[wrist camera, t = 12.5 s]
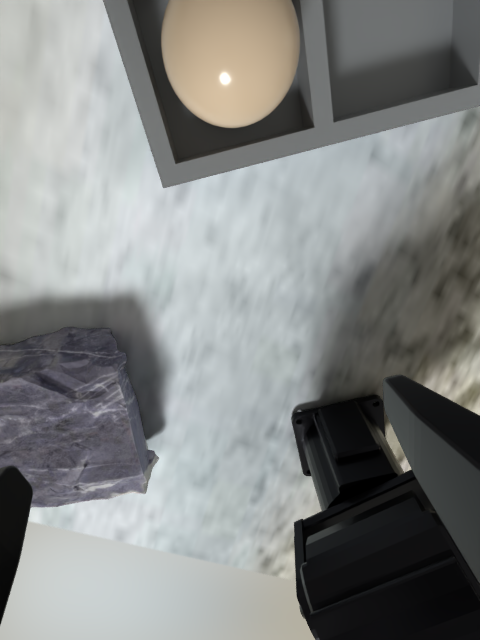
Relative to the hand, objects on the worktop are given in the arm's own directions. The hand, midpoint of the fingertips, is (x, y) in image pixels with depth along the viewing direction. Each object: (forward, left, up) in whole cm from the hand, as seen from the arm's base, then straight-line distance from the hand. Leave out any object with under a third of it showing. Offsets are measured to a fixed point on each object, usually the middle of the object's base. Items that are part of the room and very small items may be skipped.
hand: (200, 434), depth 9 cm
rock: (-9, +18, -14) cm, 24 cm away
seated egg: (+8, -3, -12) cm, 15 cm away
